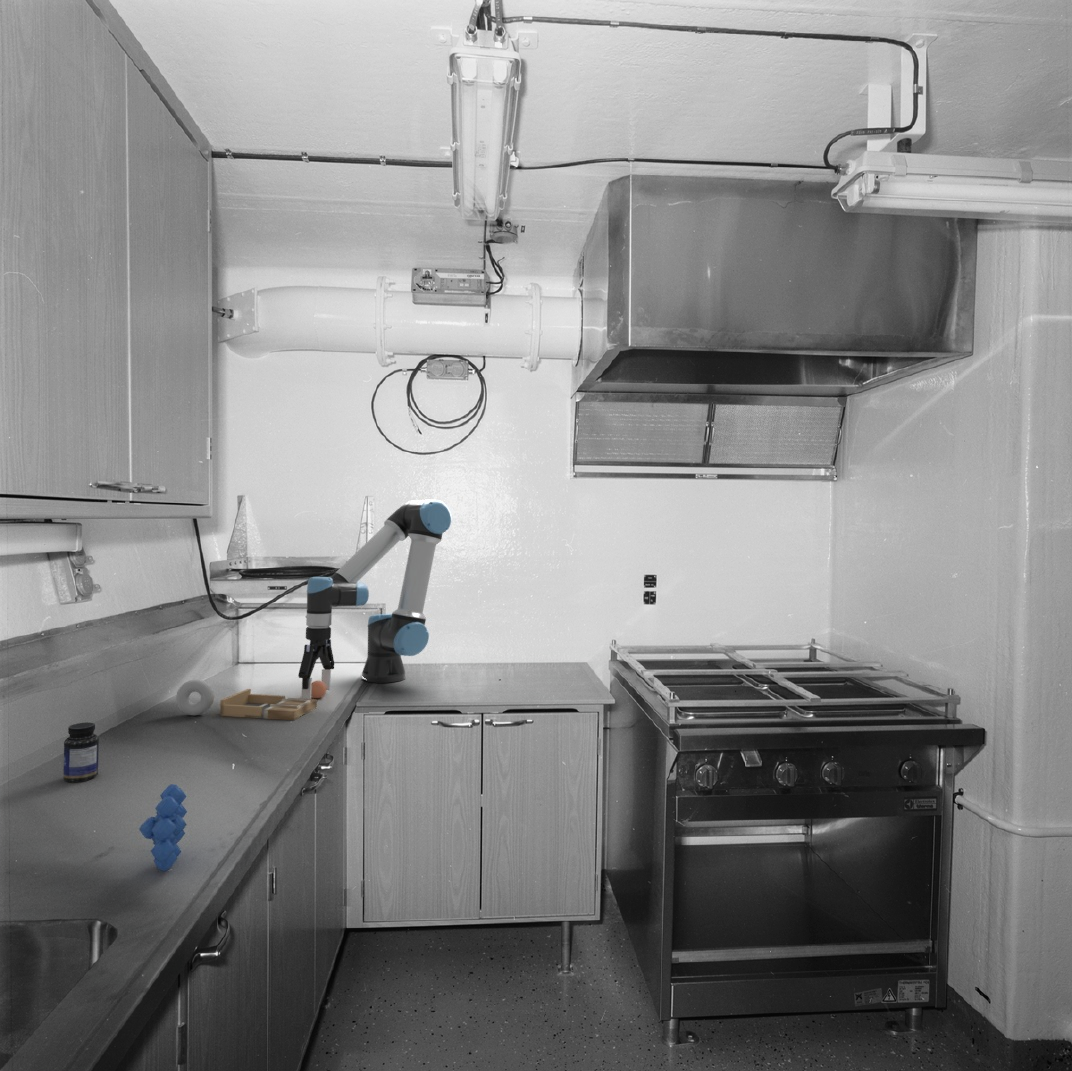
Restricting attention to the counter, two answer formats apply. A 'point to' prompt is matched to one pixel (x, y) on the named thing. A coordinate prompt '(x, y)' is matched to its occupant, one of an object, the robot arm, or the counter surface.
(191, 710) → the donut
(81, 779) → the pill bottle
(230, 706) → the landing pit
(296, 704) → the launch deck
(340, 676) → the counter surface
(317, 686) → the ball
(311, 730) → the counter surface
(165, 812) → the grapes
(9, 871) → the counter surface
